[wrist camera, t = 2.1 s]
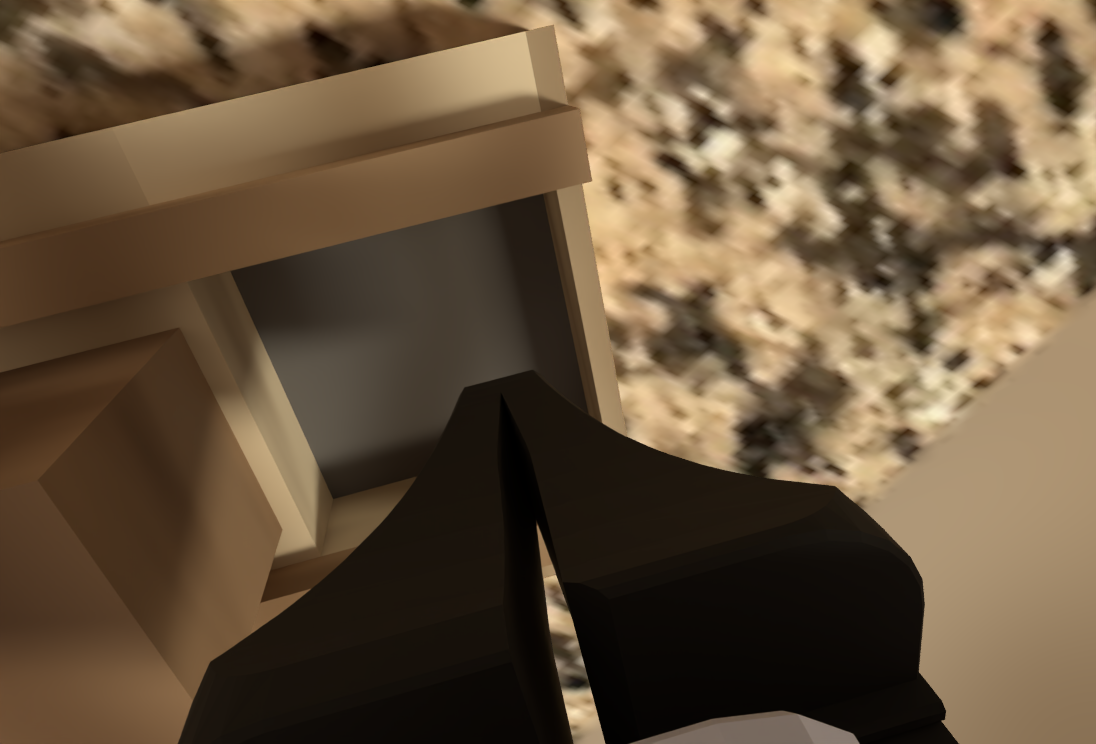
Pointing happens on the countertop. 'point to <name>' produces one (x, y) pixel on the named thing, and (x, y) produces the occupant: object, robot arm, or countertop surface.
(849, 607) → the robot arm
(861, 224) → the countertop surface
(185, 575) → the walnut block
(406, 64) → the wooden tray
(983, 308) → the countertop surface
